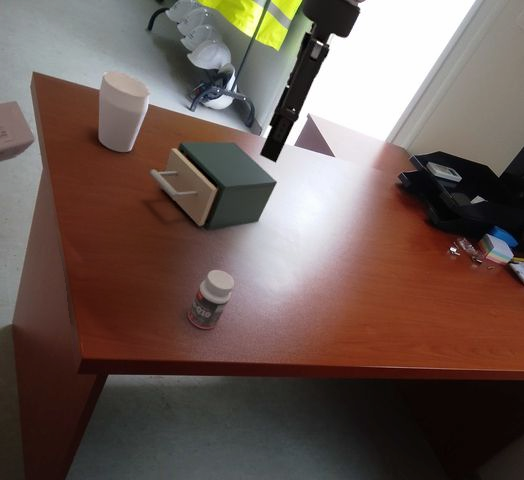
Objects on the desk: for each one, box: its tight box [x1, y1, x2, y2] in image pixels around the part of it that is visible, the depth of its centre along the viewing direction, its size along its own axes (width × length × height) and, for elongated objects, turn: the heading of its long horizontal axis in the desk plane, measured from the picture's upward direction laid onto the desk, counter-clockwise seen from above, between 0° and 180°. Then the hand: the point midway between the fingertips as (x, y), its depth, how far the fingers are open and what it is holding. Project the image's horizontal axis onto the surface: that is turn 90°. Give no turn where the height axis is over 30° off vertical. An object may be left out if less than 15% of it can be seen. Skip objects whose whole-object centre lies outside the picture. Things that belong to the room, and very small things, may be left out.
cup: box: [98, 70, 151, 153], centre depth 90 cm, size 9×9×12 cm
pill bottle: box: [187, 269, 235, 330], centre depth 68 cm, size 5×5×8 cm
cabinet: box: [177, 141, 278, 231], centre depth 91 cm, size 15×14×10 cm
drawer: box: [149, 148, 221, 227], centre depth 87 cm, size 19×12×8 cm, turn 136°
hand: (272, 142), depth 75 cm, fingers open, 13 cm apart
